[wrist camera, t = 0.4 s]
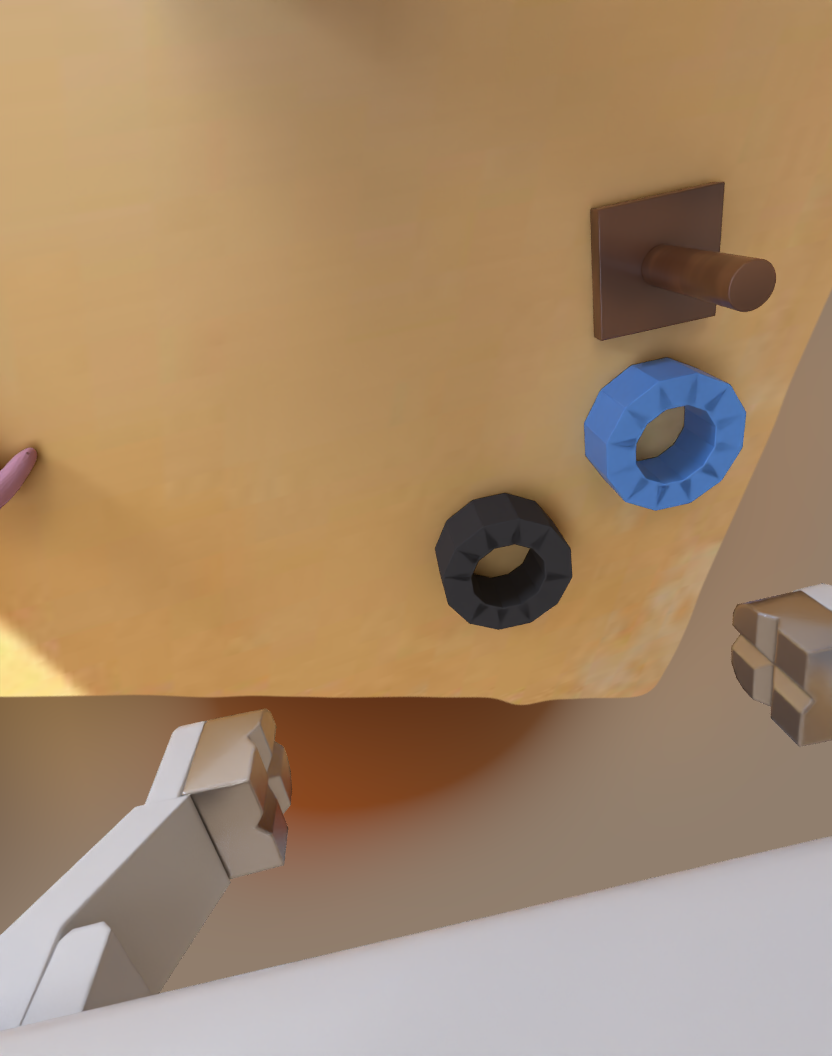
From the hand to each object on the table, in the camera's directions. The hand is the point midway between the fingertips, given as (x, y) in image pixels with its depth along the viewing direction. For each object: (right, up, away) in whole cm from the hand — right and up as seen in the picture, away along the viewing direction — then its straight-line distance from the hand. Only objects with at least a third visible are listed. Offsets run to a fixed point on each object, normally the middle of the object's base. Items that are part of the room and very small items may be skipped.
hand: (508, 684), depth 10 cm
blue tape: (+18, +12, +40) cm, 46 cm away
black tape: (+6, +1, +45) cm, 45 cm away
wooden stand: (+16, +23, +34) cm, 44 cm away
